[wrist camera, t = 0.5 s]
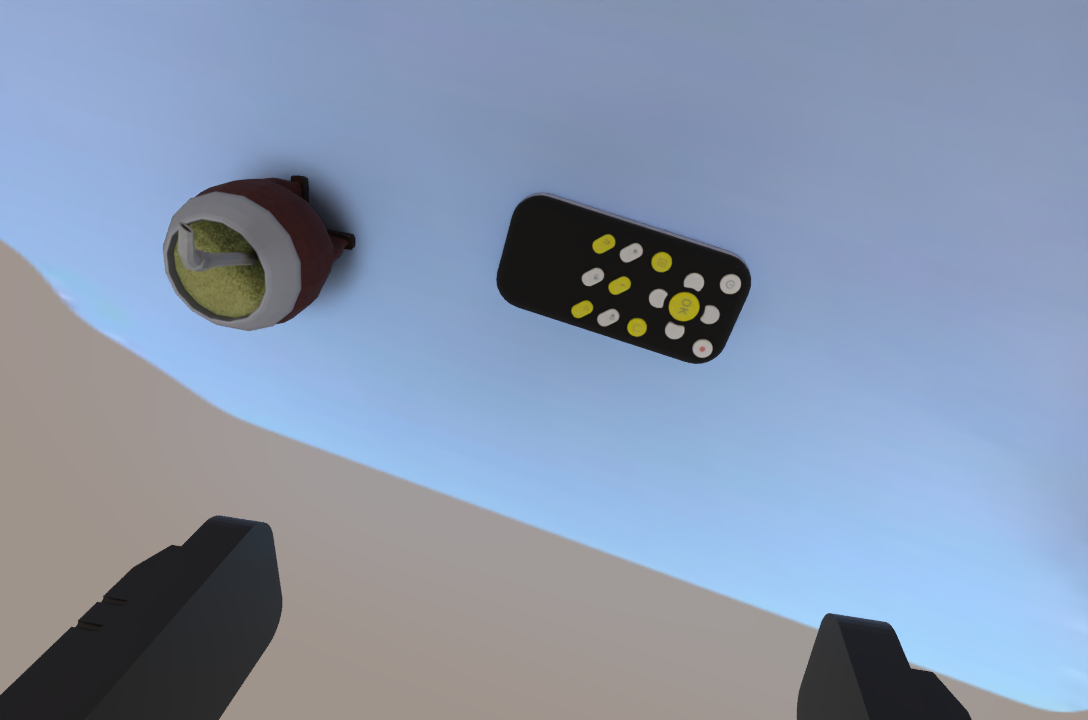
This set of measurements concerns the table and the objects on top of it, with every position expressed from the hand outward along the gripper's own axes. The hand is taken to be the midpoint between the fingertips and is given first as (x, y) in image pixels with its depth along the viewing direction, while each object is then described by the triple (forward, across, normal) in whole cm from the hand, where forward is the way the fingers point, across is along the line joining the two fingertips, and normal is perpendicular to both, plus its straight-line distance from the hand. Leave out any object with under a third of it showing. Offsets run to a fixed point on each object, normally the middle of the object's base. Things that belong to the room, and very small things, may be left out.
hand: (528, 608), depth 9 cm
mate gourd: (+27, +17, +2) cm, 32 cm away
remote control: (+27, 0, +3) cm, 28 cm away
